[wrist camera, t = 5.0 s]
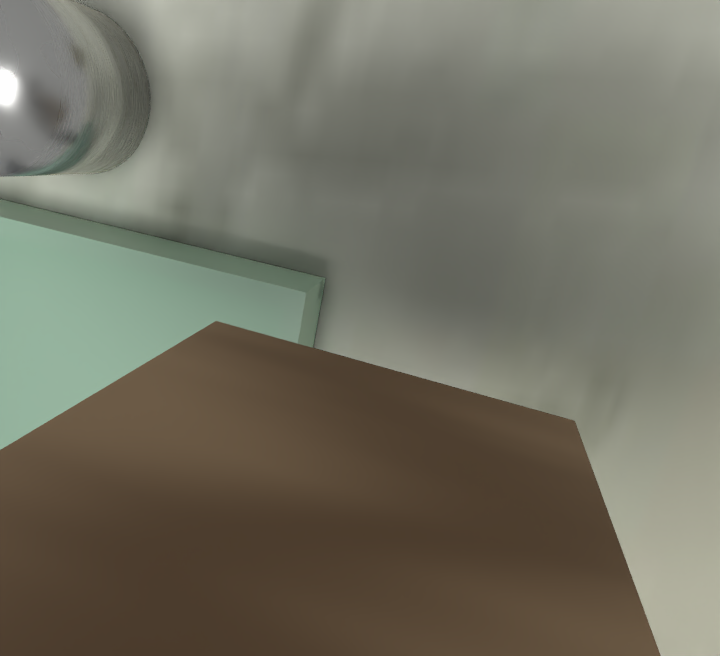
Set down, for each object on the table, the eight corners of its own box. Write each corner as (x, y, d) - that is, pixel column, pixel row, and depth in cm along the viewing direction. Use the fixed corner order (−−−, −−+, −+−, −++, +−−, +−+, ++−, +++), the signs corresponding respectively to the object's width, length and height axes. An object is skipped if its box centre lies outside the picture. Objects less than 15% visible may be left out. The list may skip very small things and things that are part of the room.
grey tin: (156, 19, 17) (62, -23, 13) (145, 187, 18) (58, 194, 14) (10, -8, 17) (-120, -55, 14) (12, 157, 19) (-104, 155, 15)
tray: (325, 278, 18) (306, 292, 16) (265, 613, 22) (244, 657, 20) (-52, 186, 20) (-112, 188, 18) (-37, 512, 24) (-83, 543, 22)
